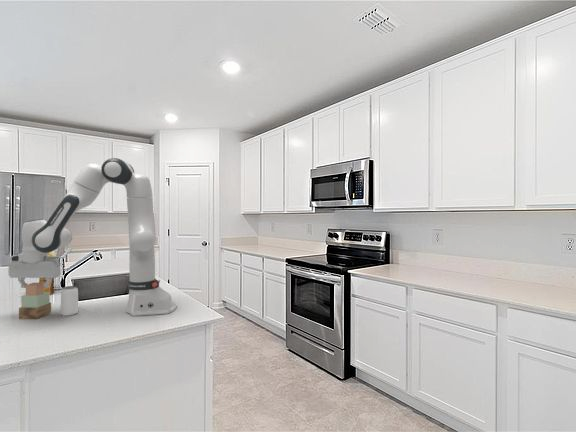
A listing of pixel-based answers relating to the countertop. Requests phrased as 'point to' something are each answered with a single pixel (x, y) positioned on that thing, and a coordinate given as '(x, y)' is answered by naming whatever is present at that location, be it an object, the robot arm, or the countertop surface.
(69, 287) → the can
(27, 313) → the tower base
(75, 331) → the countertop surface
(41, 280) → the pancake mix bag
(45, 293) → the tower top
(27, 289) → the cube
